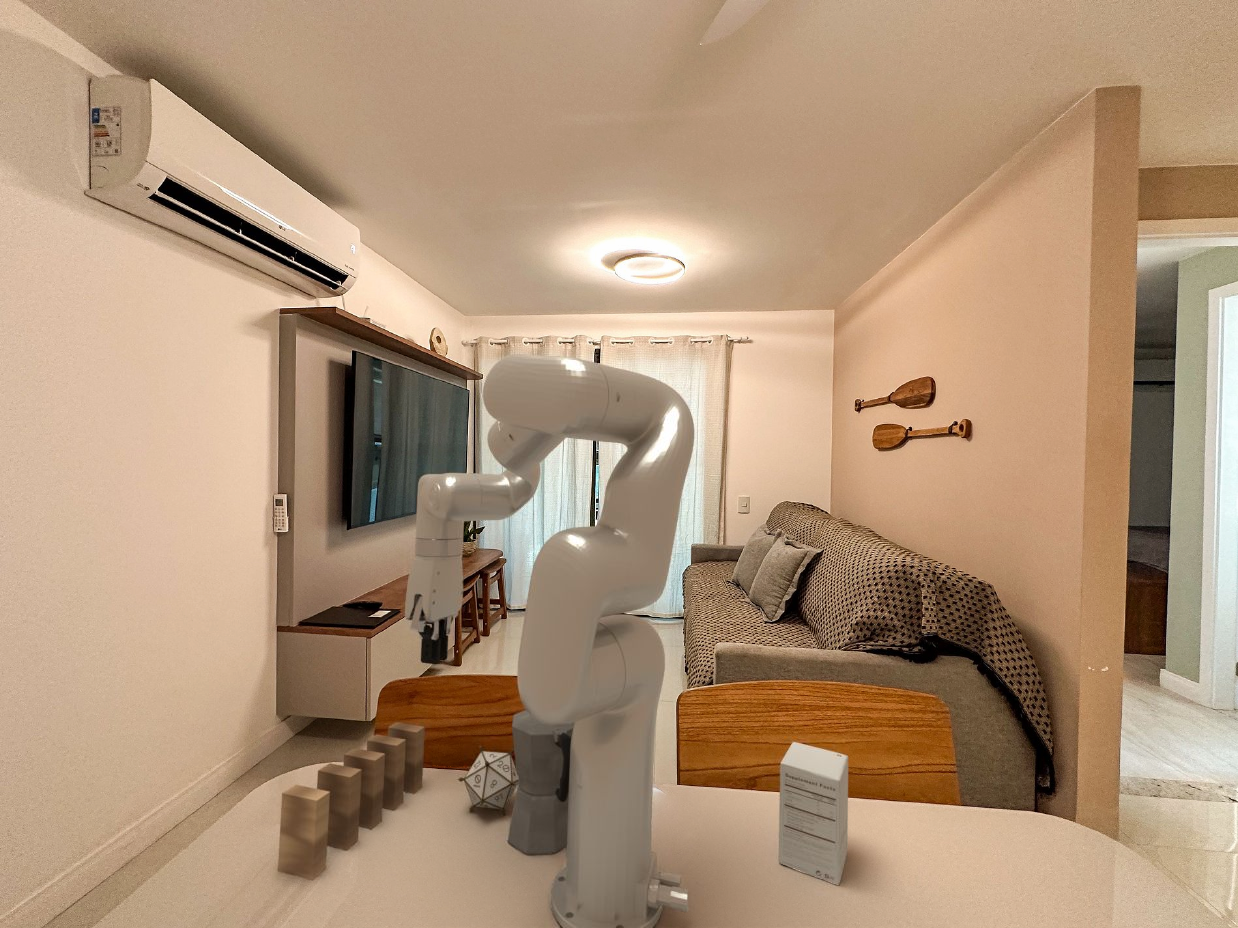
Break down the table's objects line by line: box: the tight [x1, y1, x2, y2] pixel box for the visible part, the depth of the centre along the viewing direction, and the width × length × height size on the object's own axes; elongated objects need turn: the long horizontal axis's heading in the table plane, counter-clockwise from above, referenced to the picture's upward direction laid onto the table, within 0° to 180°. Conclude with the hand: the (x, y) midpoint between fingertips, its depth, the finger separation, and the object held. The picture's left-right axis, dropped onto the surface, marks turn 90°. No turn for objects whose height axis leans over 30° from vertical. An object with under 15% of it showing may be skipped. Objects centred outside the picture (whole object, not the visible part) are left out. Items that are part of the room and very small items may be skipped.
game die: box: [457, 744, 519, 816], centre depth 80 cm, size 9×8×10 cm
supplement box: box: [778, 741, 849, 886], centre depth 71 cm, size 7×7×13 cm
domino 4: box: [366, 734, 406, 811], centre depth 80 cm, size 5×2×9 cm, turn 74°
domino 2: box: [316, 763, 362, 851], centre depth 71 cm, size 5×2×9 cm, turn 75°
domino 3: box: [342, 747, 385, 830], centre depth 75 cm, size 5×2×9 cm, turn 75°
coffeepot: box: [507, 709, 575, 856], centre depth 73 cm, size 15×9×18 cm, turn 29°
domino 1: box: [277, 784, 330, 881], centre depth 66 cm, size 5×2×9 cm, turn 75°
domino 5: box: [387, 721, 426, 795], centre depth 84 cm, size 5×2×9 cm, turn 74°
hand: (434, 660), depth 91 cm, fingers closed
